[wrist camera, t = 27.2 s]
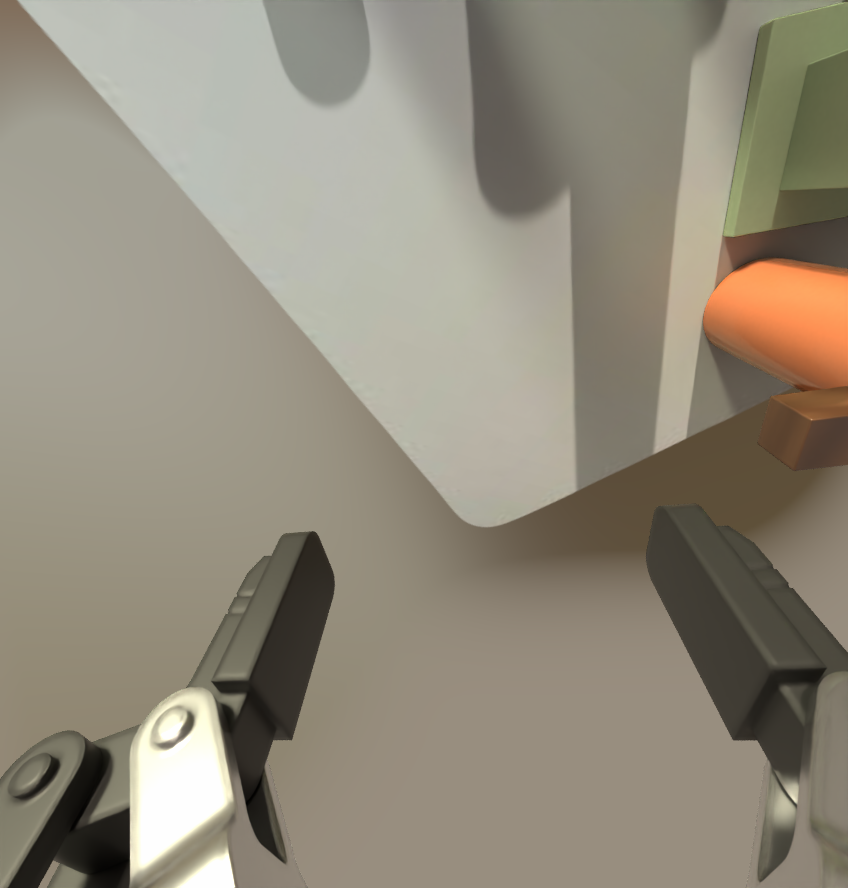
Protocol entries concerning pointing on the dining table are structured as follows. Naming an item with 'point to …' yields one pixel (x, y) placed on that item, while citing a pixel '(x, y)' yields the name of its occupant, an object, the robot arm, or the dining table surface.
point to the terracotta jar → (784, 320)
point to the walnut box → (807, 428)
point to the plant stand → (794, 126)
